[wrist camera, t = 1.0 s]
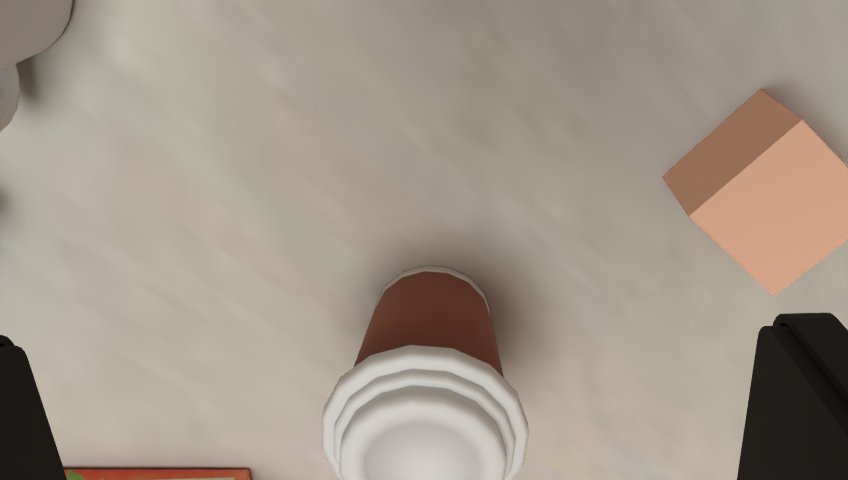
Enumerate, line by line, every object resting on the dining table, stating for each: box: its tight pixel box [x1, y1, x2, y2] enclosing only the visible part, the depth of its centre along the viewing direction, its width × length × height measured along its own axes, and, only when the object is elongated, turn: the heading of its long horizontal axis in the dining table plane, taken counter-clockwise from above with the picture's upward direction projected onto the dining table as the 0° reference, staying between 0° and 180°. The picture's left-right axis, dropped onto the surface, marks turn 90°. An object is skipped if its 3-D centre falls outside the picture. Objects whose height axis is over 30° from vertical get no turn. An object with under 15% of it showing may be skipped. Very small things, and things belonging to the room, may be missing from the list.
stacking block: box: [662, 89, 848, 296], centre depth 35 cm, size 6×6×5 cm
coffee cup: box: [322, 266, 529, 480], centre depth 37 cm, size 9×9×12 cm
